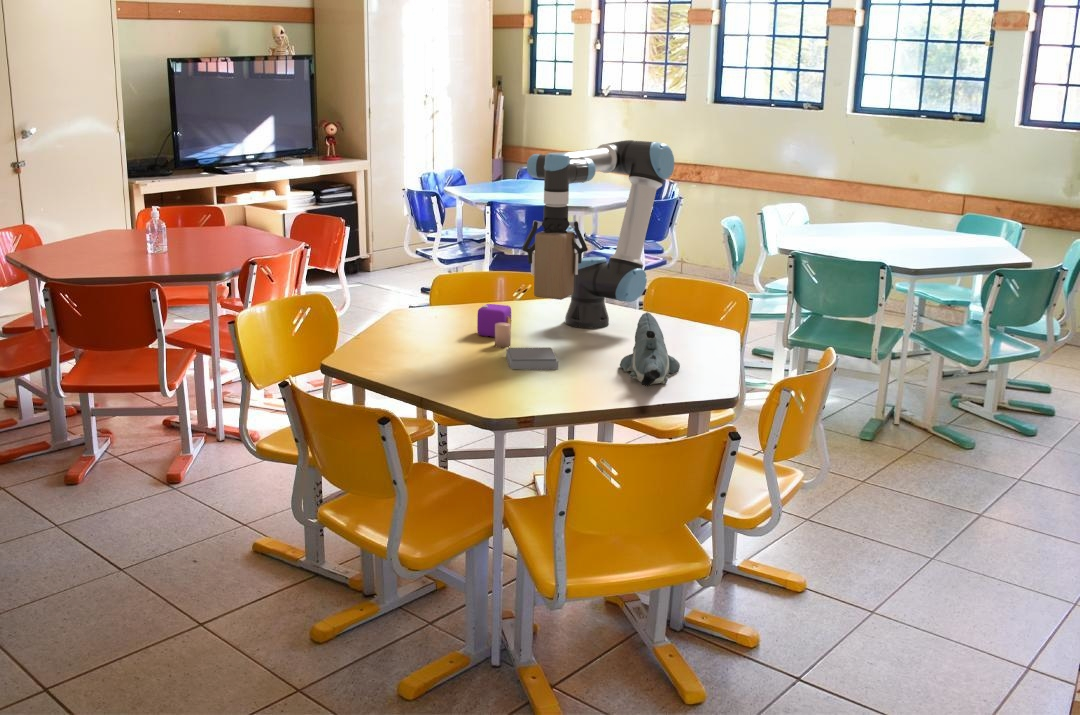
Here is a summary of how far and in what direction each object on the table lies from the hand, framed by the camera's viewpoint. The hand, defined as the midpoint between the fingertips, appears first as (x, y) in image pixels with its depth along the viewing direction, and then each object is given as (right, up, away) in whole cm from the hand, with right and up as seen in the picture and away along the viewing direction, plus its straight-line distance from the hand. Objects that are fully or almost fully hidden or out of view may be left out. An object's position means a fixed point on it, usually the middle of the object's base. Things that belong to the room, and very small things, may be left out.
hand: (554, 274), depth 325 cm
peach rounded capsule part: (-16, -22, +9) cm, 29 cm away
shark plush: (+25, -33, -23) cm, 47 cm away
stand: (-7, -27, -9) cm, 30 cm away
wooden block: (0, -7, +2) cm, 7 cm away
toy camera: (-19, -18, +24) cm, 36 cm away
